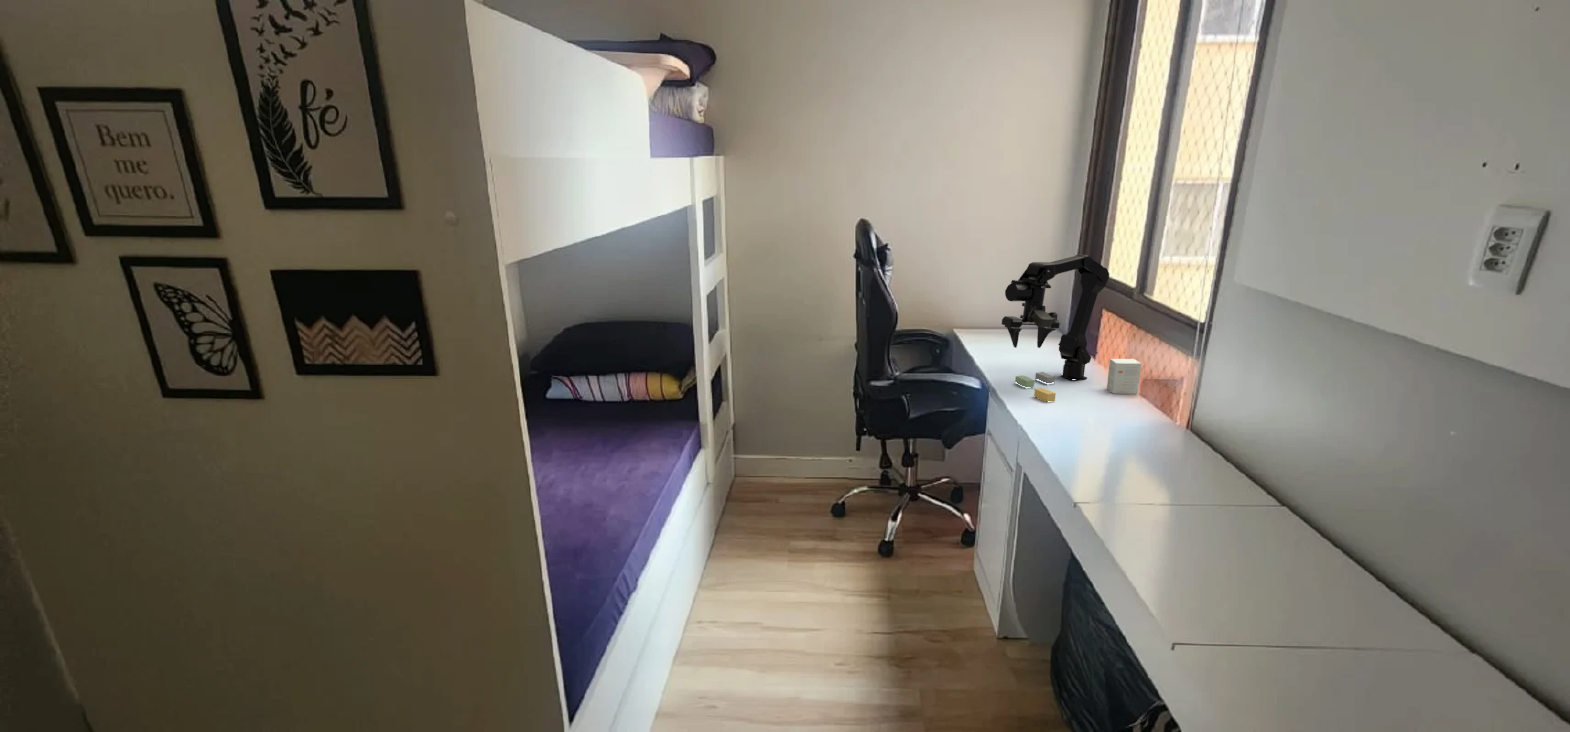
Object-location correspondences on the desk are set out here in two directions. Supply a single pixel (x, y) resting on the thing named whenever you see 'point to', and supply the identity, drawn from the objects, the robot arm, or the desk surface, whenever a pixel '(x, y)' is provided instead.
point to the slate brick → (1045, 377)
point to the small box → (1123, 376)
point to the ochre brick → (1044, 394)
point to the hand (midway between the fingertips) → (1027, 347)
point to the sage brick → (1024, 381)
